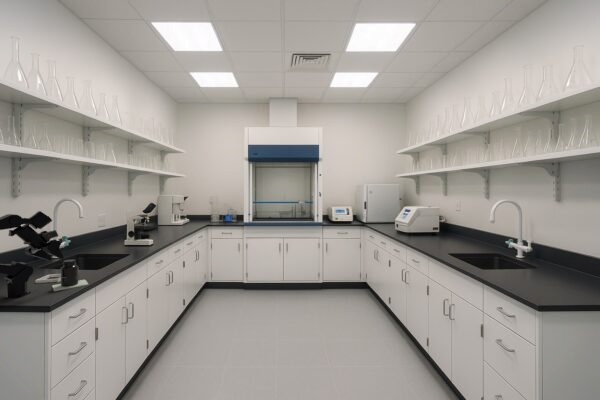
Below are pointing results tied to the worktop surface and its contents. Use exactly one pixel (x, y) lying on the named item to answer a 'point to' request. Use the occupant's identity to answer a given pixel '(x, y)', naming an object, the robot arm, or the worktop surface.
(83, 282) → the mat
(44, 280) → the white square frame
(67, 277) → the supplement bottle
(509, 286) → the worktop surface
